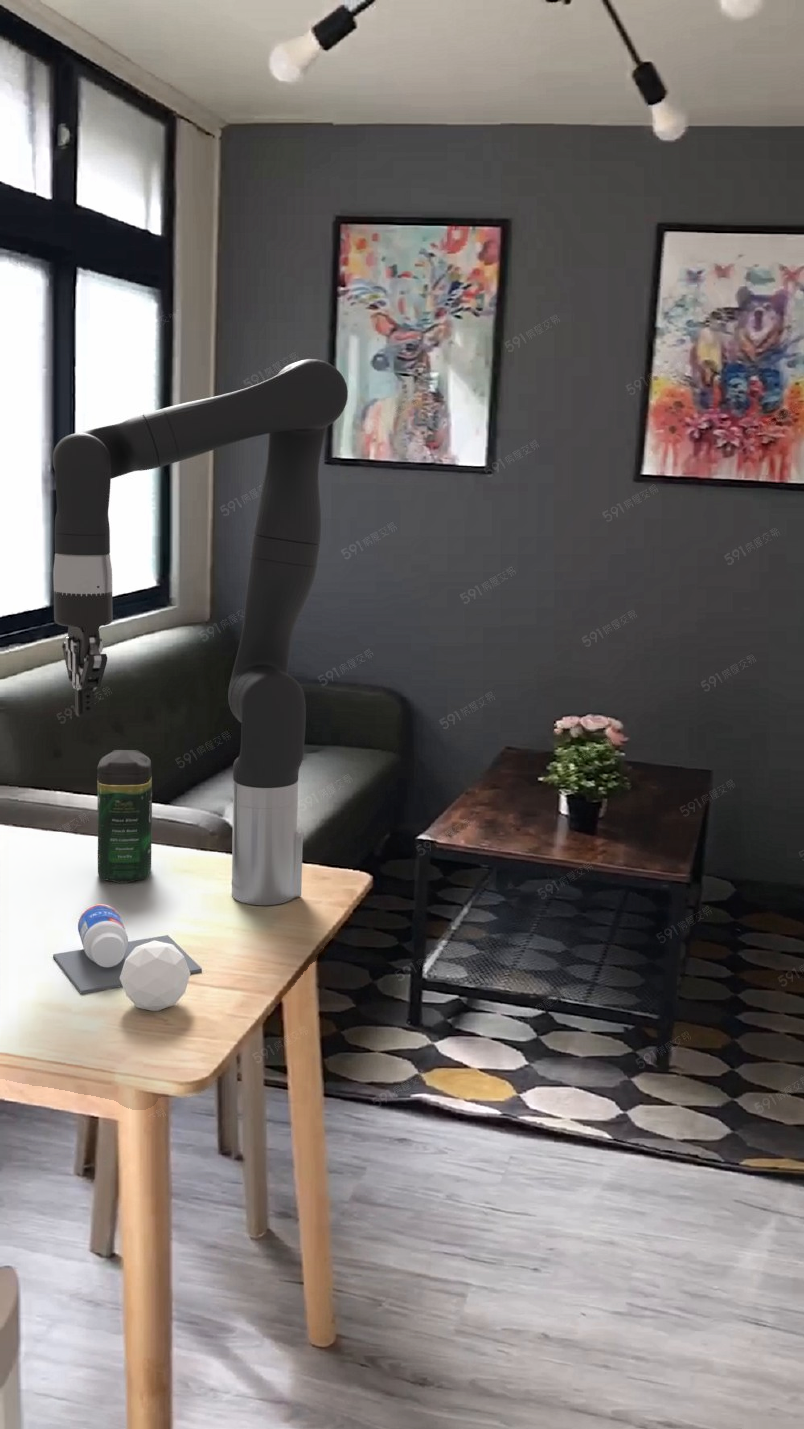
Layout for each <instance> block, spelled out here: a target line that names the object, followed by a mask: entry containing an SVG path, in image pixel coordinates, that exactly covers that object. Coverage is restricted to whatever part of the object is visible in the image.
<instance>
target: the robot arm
mask: <svg viewBox="0 0 804 1429" xmlns="http://www.w3.org/2000/svg"><path fill="white" fill-rule="evenodd" d="M348 392H349V391H348V386H347V382H346V380H345V377H344V376H343V375H342V373H341V372H340V371H339V370H338V369H337V367H335V366H333V365H332V364H331V363H328V362H326V361H324V360H321V359H316V358H315V359H313V358H307V359H302V360H298V361H296V362H292V363H290V364H288V365H286V366H285V367H283V368H282V369H281V370H280V371H279V372H277V374H276V375H275V376H273V377H271V378H268V379H267V380H264V381H261V382H259V383H256V384H254V385H252V386H248V387H245V388H243V389H242V388H241V389H240V390H235V391H232V392H228V393H224V394H220V395H216V396H211V397H207V398H203V399H202V398H201V399H197V400H193V401H188V402H183V403H179V404H175V405H171V406H167V407H164V408H161V409H157V410H153V411H150V412H146V413H143V414H139V415H136V416H134V417H131V418H128V419H126V420H124V421H122V422H118V423H114V424H109V425H105V426H101V427H100V426H99V427H95V428H92V429H87V430H84V431H83V430H82V431H79V432H75V433H71V434H68V435H65V437H63V438H61V439H60V440H59V441H58V443H56V445H55V447H54V449H53V453H52V457H51V458H52V459H51V460H52V467H53V469H54V475H55V476H54V478H55V494H56V514H55V519H54V553H55V554H54V563H53V571H52V572H53V573H52V574H53V577H52V578H53V620H54V622H55V623H56V624H57V625H59V626H63V627H68V628H67V629H68V630H67V637H65V639H64V640H65V641H62V644H61V648H62V653H63V656H64V661H65V666H66V671H67V676H68V680H69V682H72V683H71V684H72V687H73V689H74V703H75V704H74V705H75V706H74V708H75V712H74V713H75V715H76V716H77V717H79V719H88V718H89V719H90V718H94V716H95V715H96V713H95V710H96V709H95V690H97V688H101V685H102V681H103V677H104V673H105V670H106V666H107V662H108V656H107V654H106V653H102V652H103V649H104V646H103V643H104V642H103V639H102V638H101V637H100V627H102V626H103V627H105V626H108V625H110V624H112V622H113V619H114V618H113V616H114V615H113V567H112V562H111V534H110V533H111V529H110V521H109V520H110V518H109V507H110V494H111V484H112V482H111V480H113V479H115V478H118V477H121V476H124V475H127V474H129V473H133V472H138V471H139V472H142V471H148V470H153V469H157V468H161V467H165V466H169V465H171V464H174V463H178V462H181V461H186V460H188V459H191V458H193V457H197V456H200V455H203V454H206V453H208V452H212V451H214V450H216V449H219V448H222V447H225V446H228V445H231V444H234V443H237V442H240V441H245V440H247V439H251V438H254V437H259V436H263V435H267V434H268V446H267V447H268V449H267V460H266V467H265V471H264V476H263V482H262V485H261V490H260V494H259V495H260V496H259V499H258V500H259V501H258V505H257V512H256V519H255V524H254V530H253V535H252V541H251V542H252V543H251V549H250V550H251V551H250V558H249V568H248V569H249V570H248V577H247V578H248V579H247V584H246V585H247V586H246V592H245V593H246V594H245V603H244V604H245V605H244V614H243V622H242V624H243V625H242V631H241V636H240V640H239V644H238V649H237V653H236V657H235V661H234V665H233V667H232V673H231V677H230V681H229V686H228V693H227V694H228V695H227V696H228V697H227V698H228V705H229V708H230V711H231V713H232V715H233V716H234V718H235V719H237V721H239V723H241V729H240V730H241V731H240V732H241V734H240V749H239V755H238V757H236V759H234V762H233V767H232V779H233V780H232V838H231V841H232V847H231V848H232V851H231V852H232V853H231V856H232V858H231V896H232V897H233V899H235V900H236V901H238V902H241V903H244V904H248V905H253V906H273V905H279V904H284V903H287V902H291V900H293V899H295V898H298V897H301V896H302V882H303V881H302V880H303V879H302V876H303V841H304V840H303V838H304V837H303V833H302V831H300V830H298V815H299V814H298V811H299V810H298V809H299V808H298V807H299V805H298V804H299V803H298V802H299V801H298V800H299V773H300V768H301V765H302V764H303V760H304V753H305V738H306V722H307V721H306V720H307V719H306V718H307V714H306V713H307V708H306V707H307V706H306V705H307V704H306V697H305V693H304V690H303V688H302V686H301V684H300V683H299V682H298V681H297V680H296V679H295V678H294V677H293V676H291V675H290V674H289V661H290V650H291V641H292V638H293V637H292V636H293V632H294V628H295V626H296V623H297V620H298V618H299V616H300V613H301V611H302V610H303V607H304V605H305V603H306V600H307V599H308V597H309V595H310V592H311V589H312V587H313V583H314V581H315V576H316V571H317V565H318V558H319V551H320V545H321V536H322V534H321V532H322V513H321V509H322V508H321V499H320V498H321V496H320V488H319V487H320V486H319V470H320V469H319V466H320V460H321V454H322V449H323V444H324V443H323V442H324V439H325V434H326V431H327V427H329V426H330V425H331V424H333V423H335V422H336V421H337V419H339V417H340V416H342V413H343V412H344V410H345V408H346V405H347V402H348V396H349V395H348Z"/></svg>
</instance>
